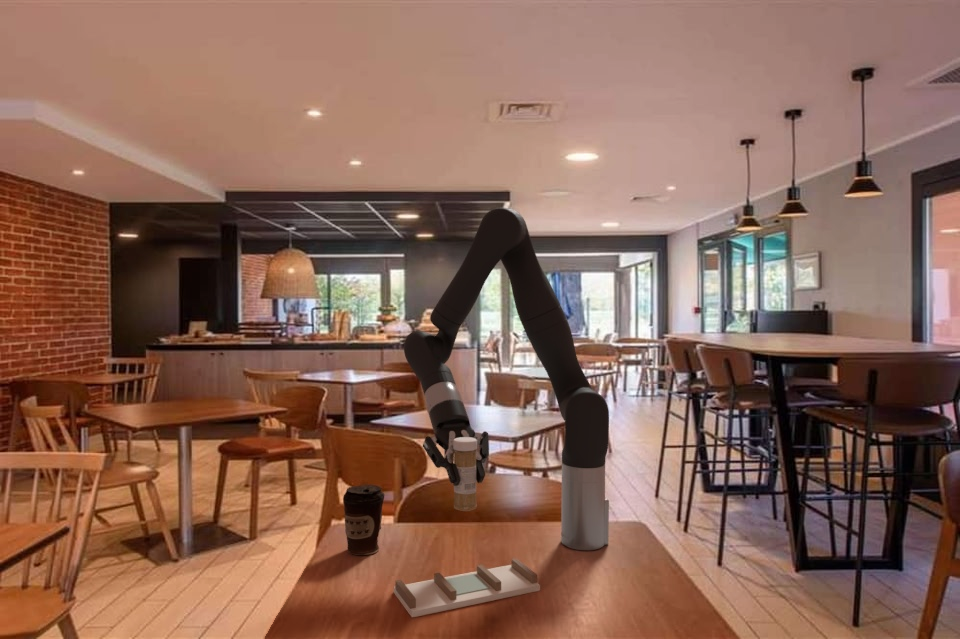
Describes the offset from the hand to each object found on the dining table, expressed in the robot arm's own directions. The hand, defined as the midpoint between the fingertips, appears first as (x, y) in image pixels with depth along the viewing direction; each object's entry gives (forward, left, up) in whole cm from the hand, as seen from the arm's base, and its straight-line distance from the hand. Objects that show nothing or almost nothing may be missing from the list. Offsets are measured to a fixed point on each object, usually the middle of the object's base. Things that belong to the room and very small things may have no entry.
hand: (469, 481), depth 121 cm
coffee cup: (+16, -19, -17) cm, 30 cm away
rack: (+4, +7, -17) cm, 19 cm away
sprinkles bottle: (0, -2, -6) cm, 6 cm away
